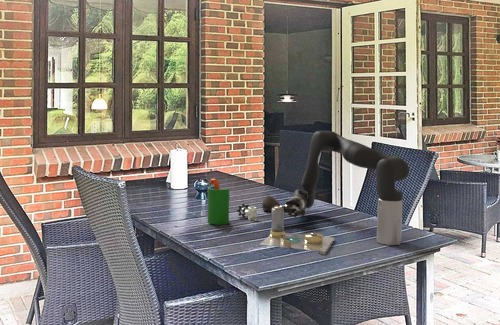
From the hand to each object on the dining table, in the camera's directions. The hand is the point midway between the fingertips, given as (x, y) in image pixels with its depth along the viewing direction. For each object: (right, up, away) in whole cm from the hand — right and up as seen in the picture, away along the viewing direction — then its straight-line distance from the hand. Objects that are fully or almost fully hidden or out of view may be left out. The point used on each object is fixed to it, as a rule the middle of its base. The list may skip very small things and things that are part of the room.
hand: (284, 214), depth 222 cm
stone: (-4, -2, +39) cm, 40 cm away
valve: (-15, -5, +21) cm, 27 cm away
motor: (-29, -5, +16) cm, 34 cm away
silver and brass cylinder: (-4, -8, -10) cm, 13 cm away
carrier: (+4, -10, -17) cm, 20 cm away
